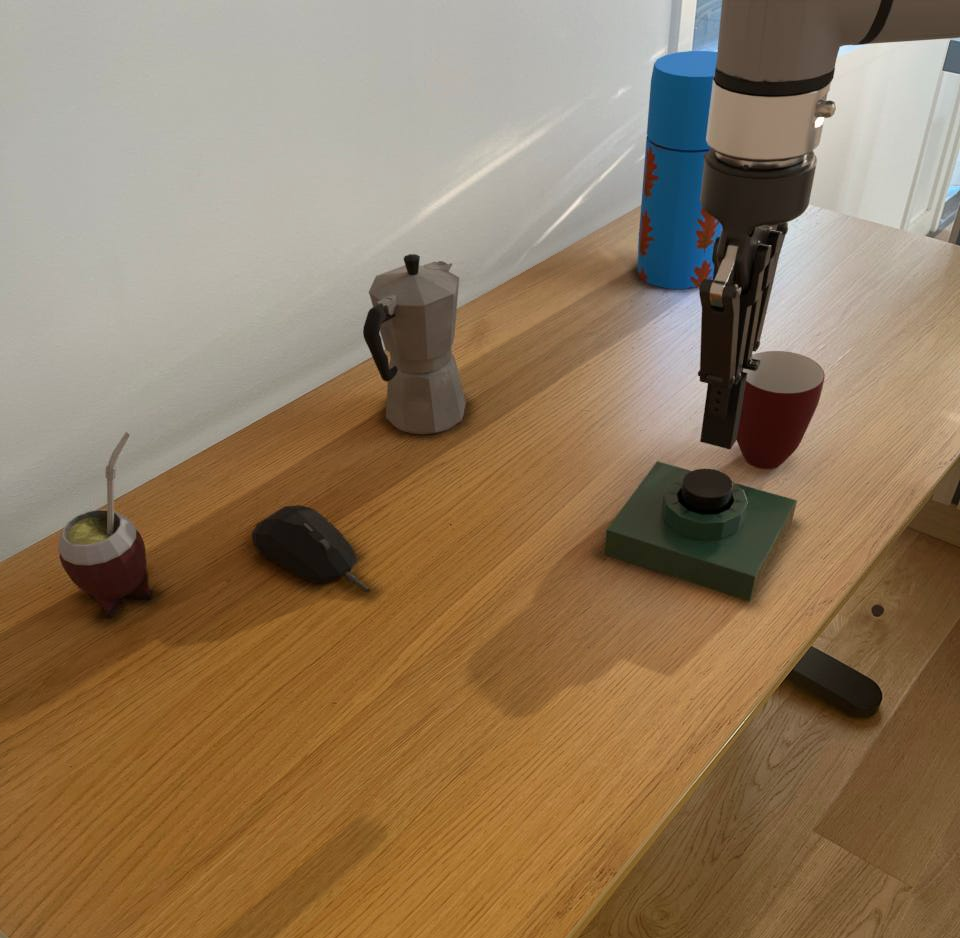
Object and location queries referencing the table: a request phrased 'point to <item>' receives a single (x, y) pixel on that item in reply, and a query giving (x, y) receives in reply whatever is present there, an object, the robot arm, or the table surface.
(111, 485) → the mate gourd
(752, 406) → the mug
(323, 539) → the gaming mouse
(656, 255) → the thermos
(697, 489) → the black round button
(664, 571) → the green button base
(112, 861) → the table surface
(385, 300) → the coffeepot
